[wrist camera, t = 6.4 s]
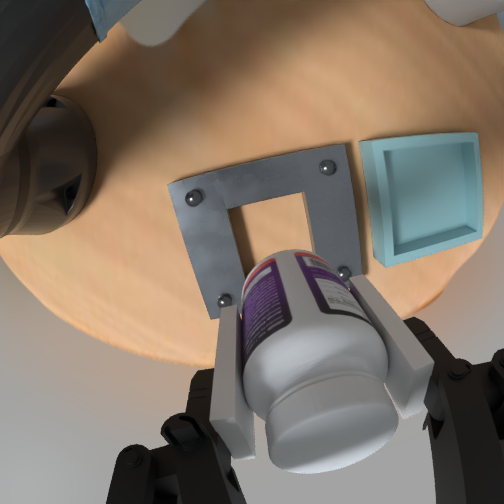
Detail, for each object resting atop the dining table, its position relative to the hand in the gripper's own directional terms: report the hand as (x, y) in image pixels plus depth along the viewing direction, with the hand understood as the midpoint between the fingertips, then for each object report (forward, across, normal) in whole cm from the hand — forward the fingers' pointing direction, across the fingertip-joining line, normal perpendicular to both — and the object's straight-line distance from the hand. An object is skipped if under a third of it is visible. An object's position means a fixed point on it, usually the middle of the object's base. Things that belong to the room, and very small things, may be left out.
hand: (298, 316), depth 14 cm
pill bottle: (+3, 0, 0) cm, 3 cm away
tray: (+15, +17, +1) cm, 23 cm away
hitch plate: (+15, 0, 0) cm, 15 cm away
